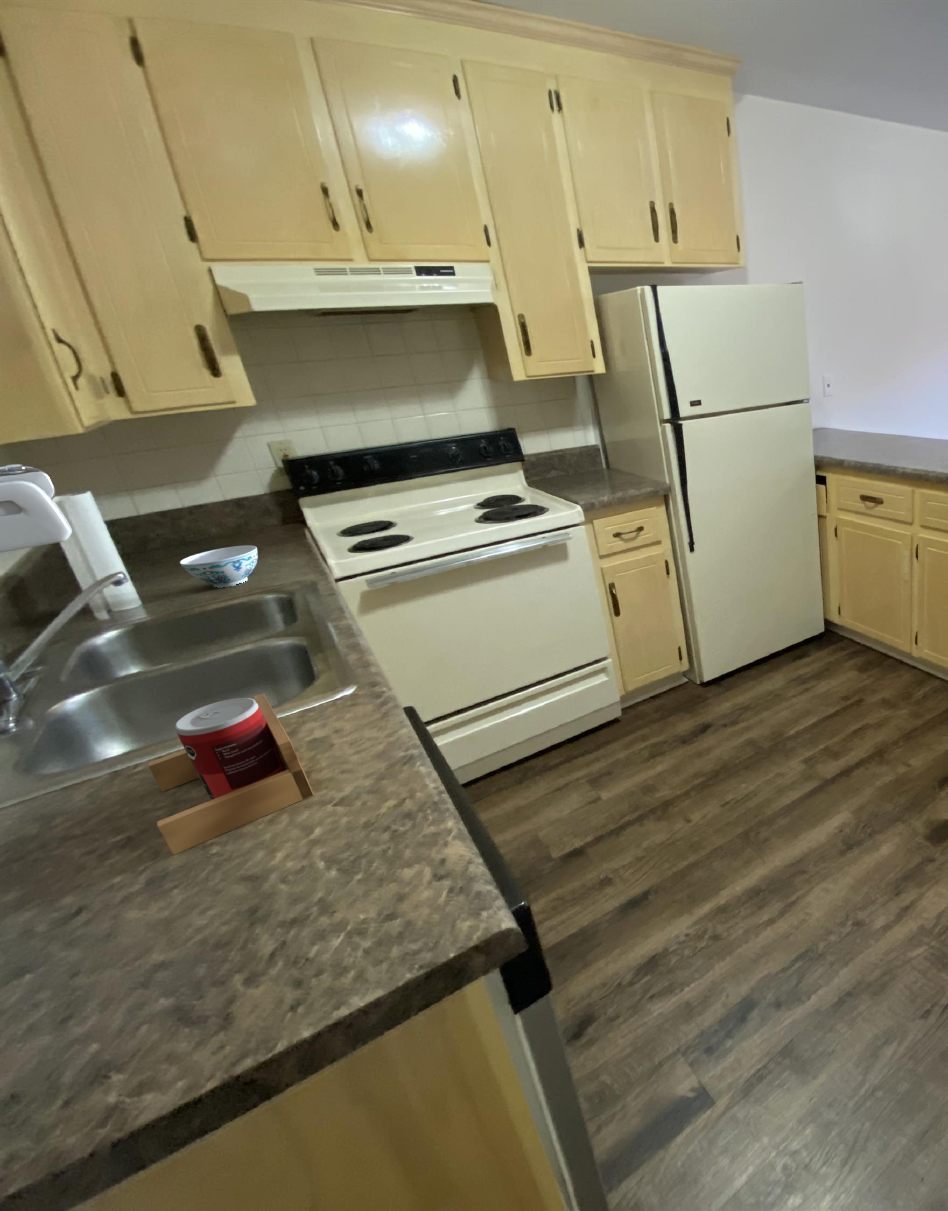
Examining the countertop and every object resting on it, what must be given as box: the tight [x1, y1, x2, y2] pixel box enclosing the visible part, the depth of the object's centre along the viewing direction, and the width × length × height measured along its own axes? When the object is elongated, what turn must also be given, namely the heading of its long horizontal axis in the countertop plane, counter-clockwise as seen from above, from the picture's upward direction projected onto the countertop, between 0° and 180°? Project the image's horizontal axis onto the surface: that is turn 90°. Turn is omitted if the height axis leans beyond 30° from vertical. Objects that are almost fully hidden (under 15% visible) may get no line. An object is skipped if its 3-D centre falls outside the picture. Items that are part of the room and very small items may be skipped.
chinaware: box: [179, 545, 259, 589], centre depth 166 cm, size 15×15×8 cm
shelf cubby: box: [147, 693, 315, 856], centre depth 82 cm, size 13×18×8 cm
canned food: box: [174, 697, 287, 800], centre depth 82 cm, size 8×8×11 cm
